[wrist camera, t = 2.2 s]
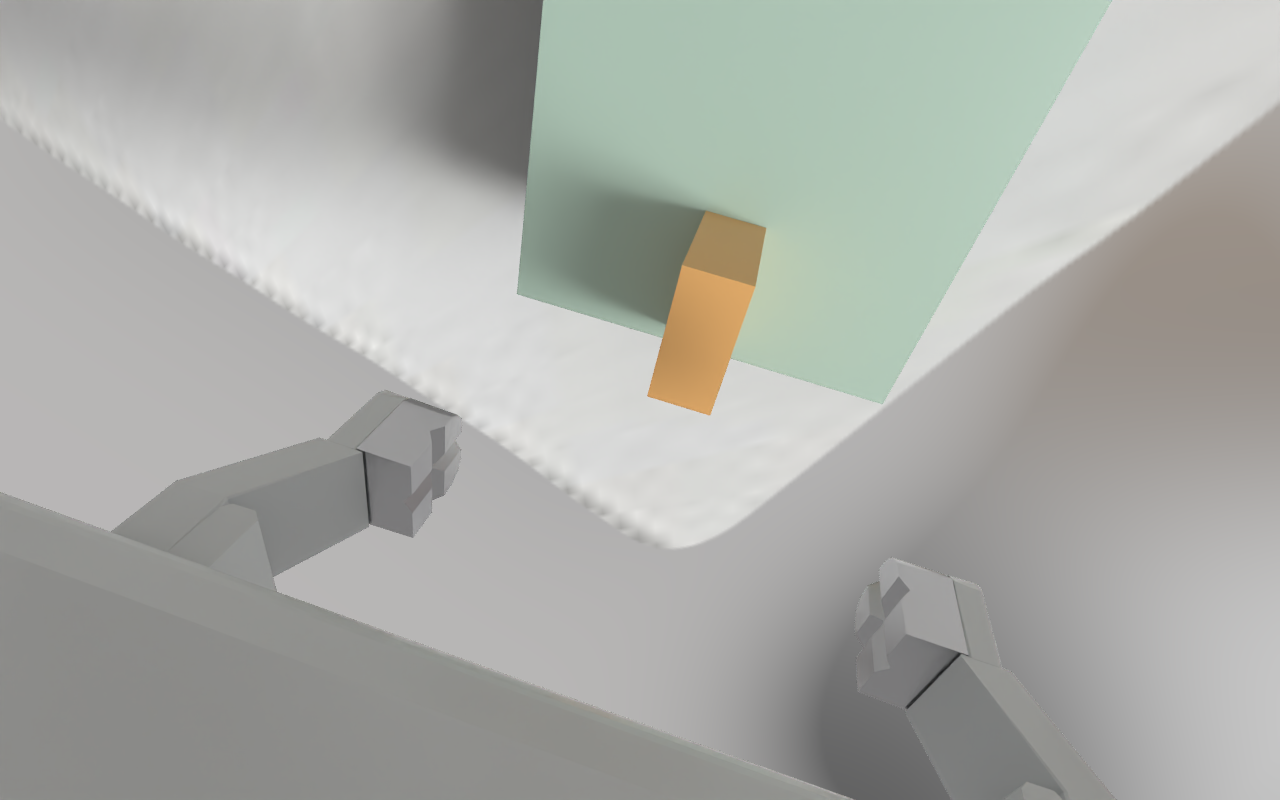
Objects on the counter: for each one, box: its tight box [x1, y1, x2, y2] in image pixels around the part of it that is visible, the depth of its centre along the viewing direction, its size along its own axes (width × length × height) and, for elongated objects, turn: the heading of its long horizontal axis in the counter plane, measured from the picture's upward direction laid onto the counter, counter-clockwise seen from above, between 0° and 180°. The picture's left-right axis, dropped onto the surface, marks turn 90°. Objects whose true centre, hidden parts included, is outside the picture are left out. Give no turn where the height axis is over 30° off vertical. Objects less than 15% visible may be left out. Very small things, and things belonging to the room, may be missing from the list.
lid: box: [517, 0, 1112, 415], centre depth 15 cm, size 13×15×6 cm
